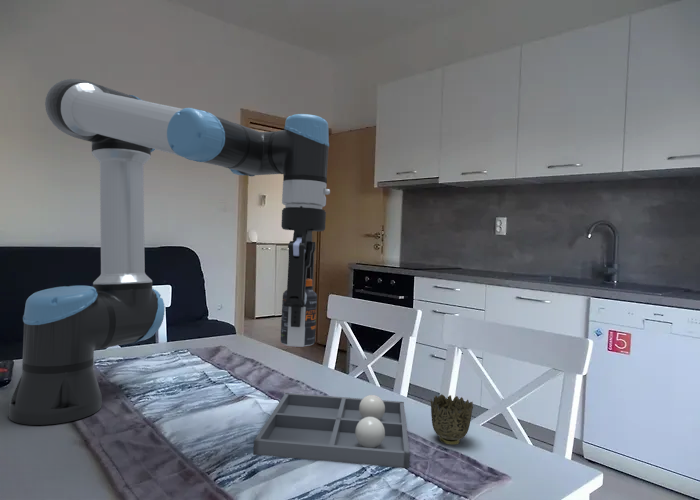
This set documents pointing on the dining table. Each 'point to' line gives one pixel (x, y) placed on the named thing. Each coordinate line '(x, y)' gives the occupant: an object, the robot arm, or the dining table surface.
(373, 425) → the egg ball
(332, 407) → the egg tray
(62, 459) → the dining table surface
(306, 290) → the pill bottle
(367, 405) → the egg ball
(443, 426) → the cup
